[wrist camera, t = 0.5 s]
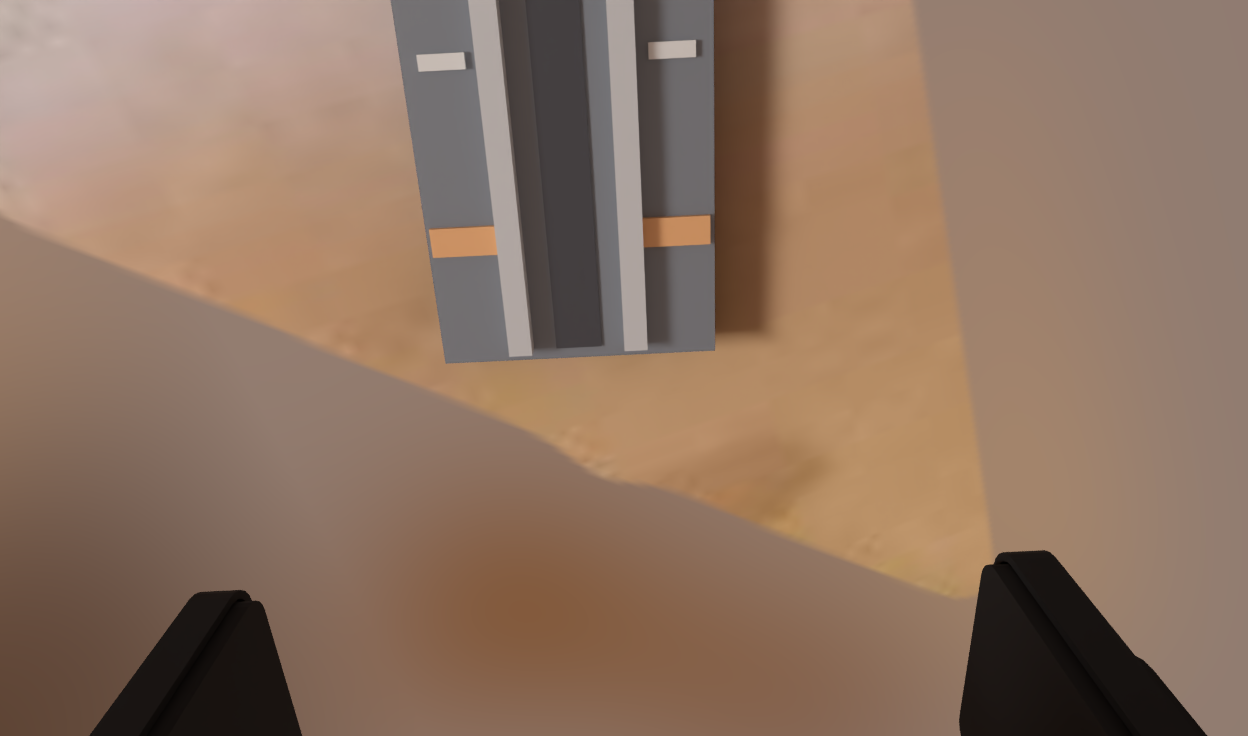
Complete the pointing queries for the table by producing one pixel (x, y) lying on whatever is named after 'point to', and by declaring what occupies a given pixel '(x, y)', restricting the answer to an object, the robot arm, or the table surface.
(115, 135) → the table surface
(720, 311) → the table surface
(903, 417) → the table surface
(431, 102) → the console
